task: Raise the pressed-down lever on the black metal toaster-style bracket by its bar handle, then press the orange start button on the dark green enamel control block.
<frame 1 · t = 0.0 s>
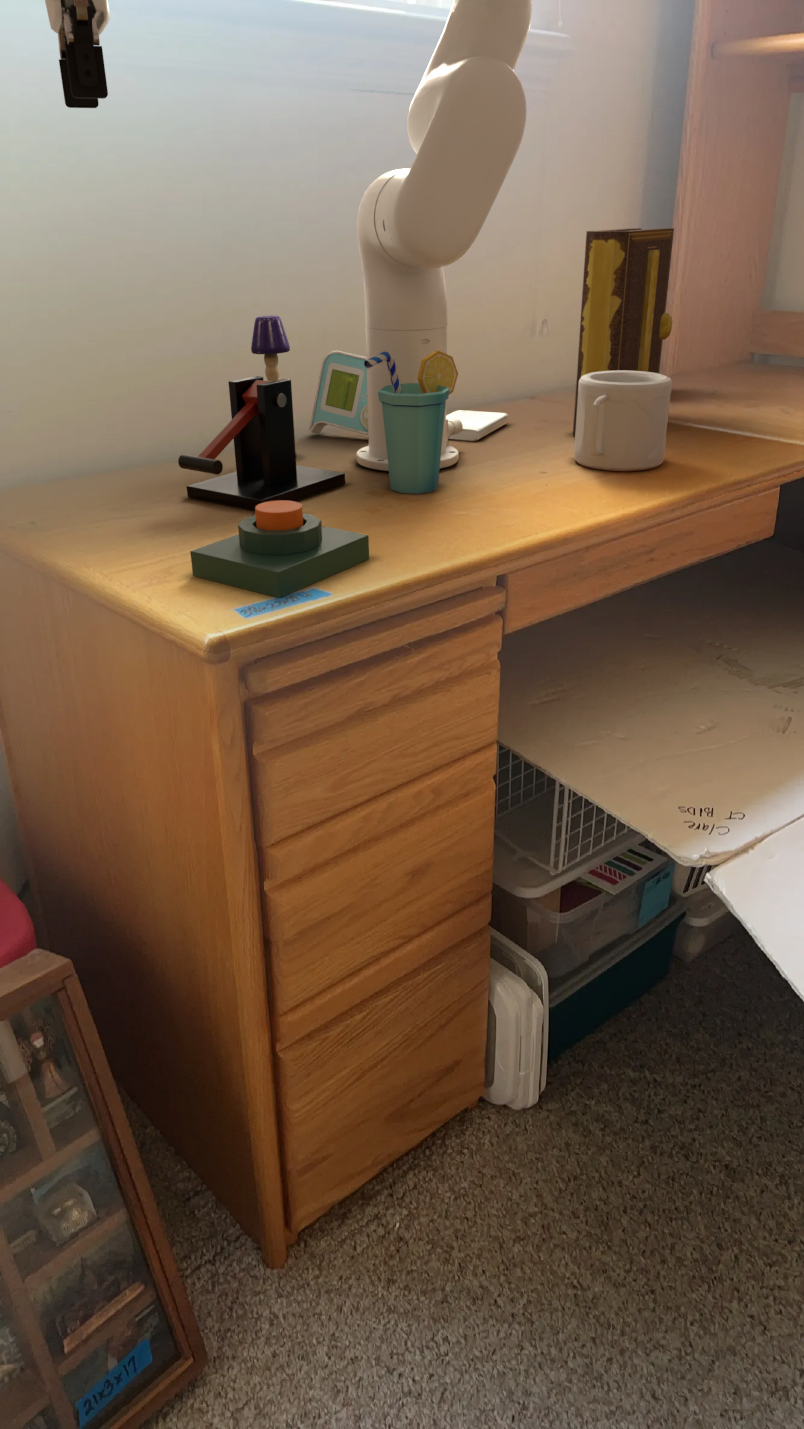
hand: (86, 102, 95), 37 cm above the table, tool pointing down, fingers open, 9 cm apart
bracket: (268, 490, 110), on the table
mug: (613, 465, 119), on the table
lever: (233, 428, 103), point 8 cm above the table, hinge at -28.0°
toy lamp: (278, 459, 124), on the table
control block: (282, 567, 86), on the table
book: (616, 425, 141), on the table
handheld gaming console: (362, 439, 133), on the table
start button: (279, 516, 84), point 5 cm above the table, slide at 0.2 cm
cup: (409, 491, 110), on the table
hard drive: (465, 431, 138), on the table
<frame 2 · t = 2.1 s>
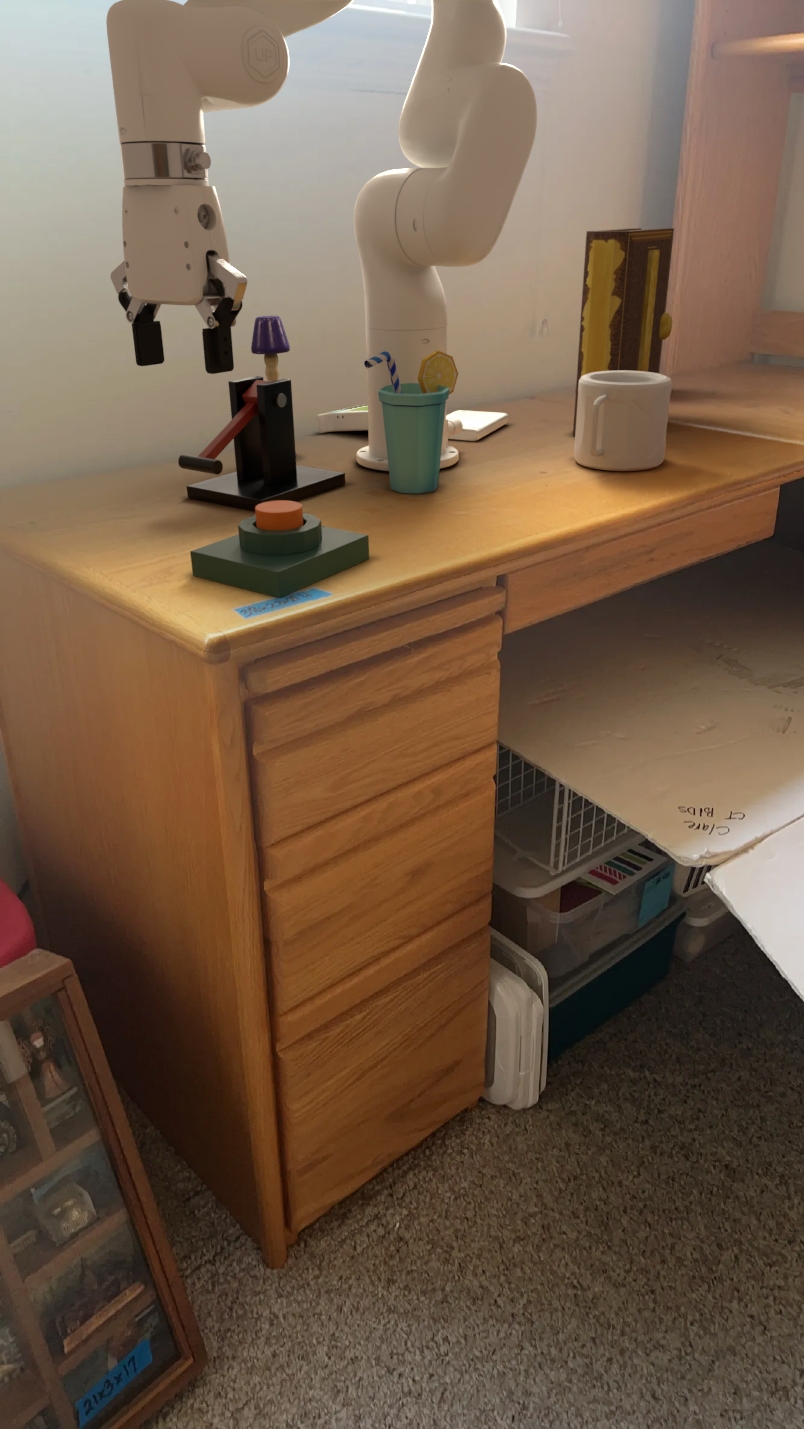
hand: (184, 368, 96), 14 cm above the table, tool pointing down, fingers open, 9 cm apart
handheld gaming console: (364, 420, 133), point 2 cm above the table, touching hard drive
hard drive: (465, 431, 138), on the table, touching handheld gaming console
everything else where it was.
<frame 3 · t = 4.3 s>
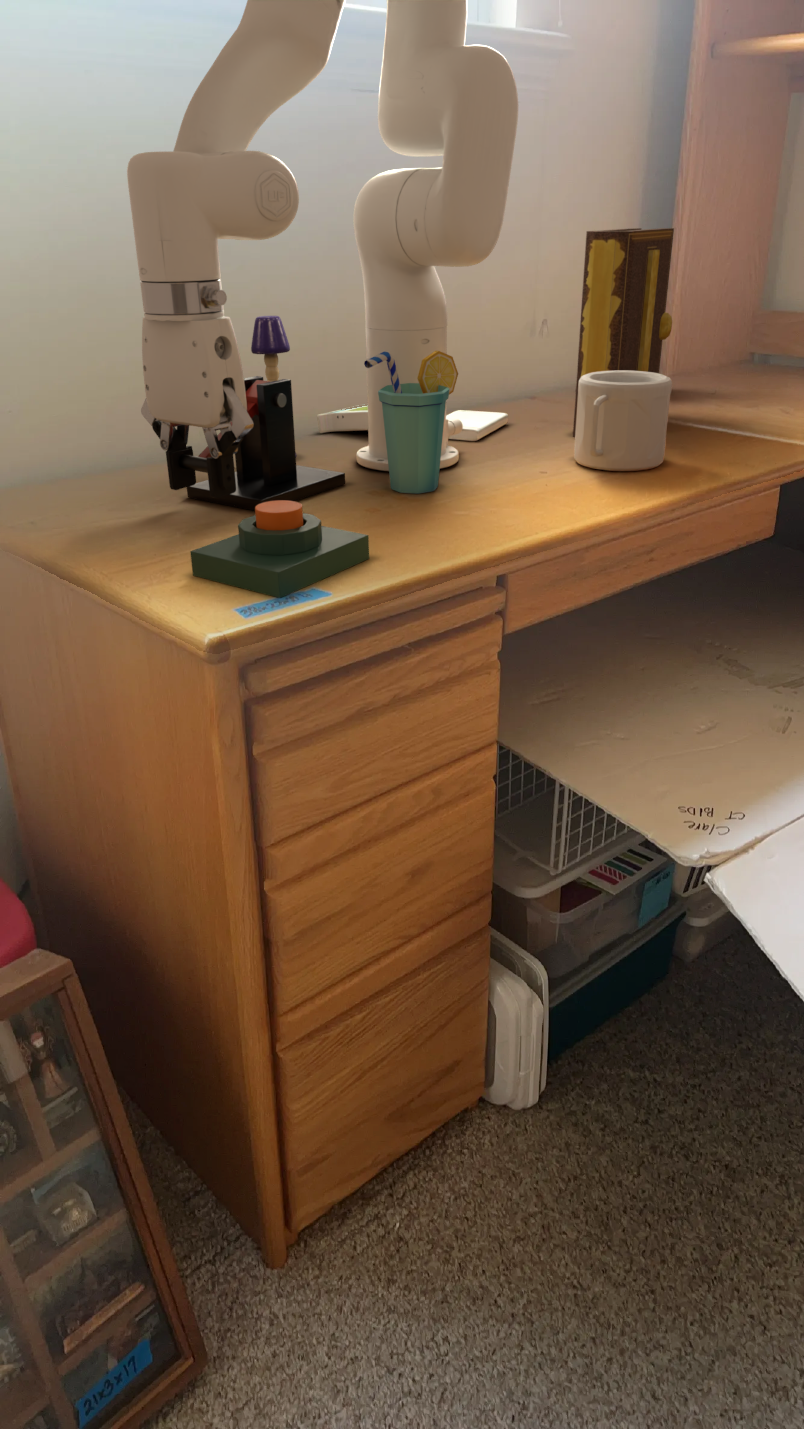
hand: (203, 489, 102), 2 cm above the table, tool pointing down, fingers closed on lever, 5 cm apart
lever: (233, 428, 103), point 8 cm above the table, hinge at -28.0°, touching gripper
everything else where it was.
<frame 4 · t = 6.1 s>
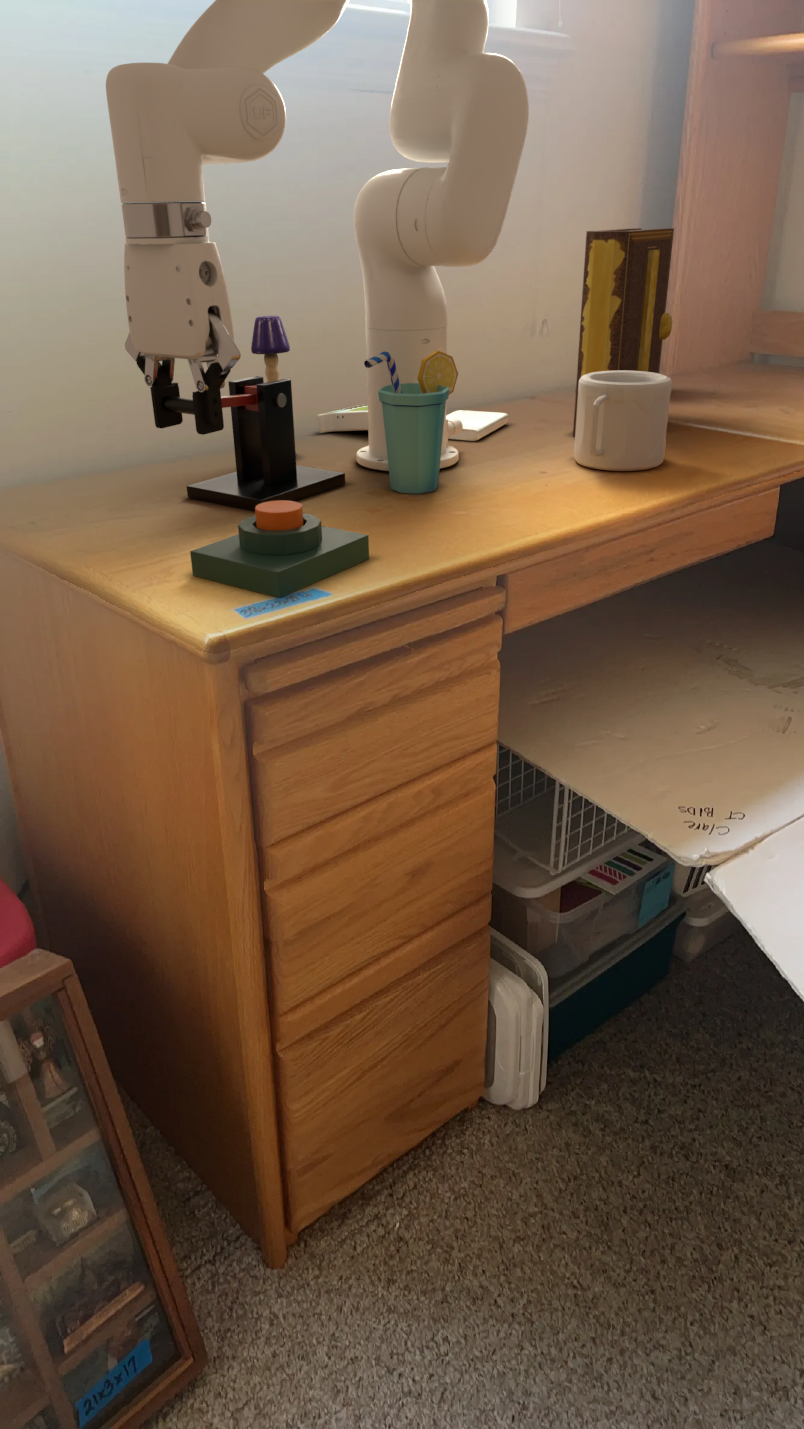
hand: (189, 426, 98), 9 cm above the table, tool pointing down, fingers closed on lever, 5 cm apart
lever: (226, 401, 101), point 10 cm above the table, hinge at 4.3°, touching gripper
everything else where it was.
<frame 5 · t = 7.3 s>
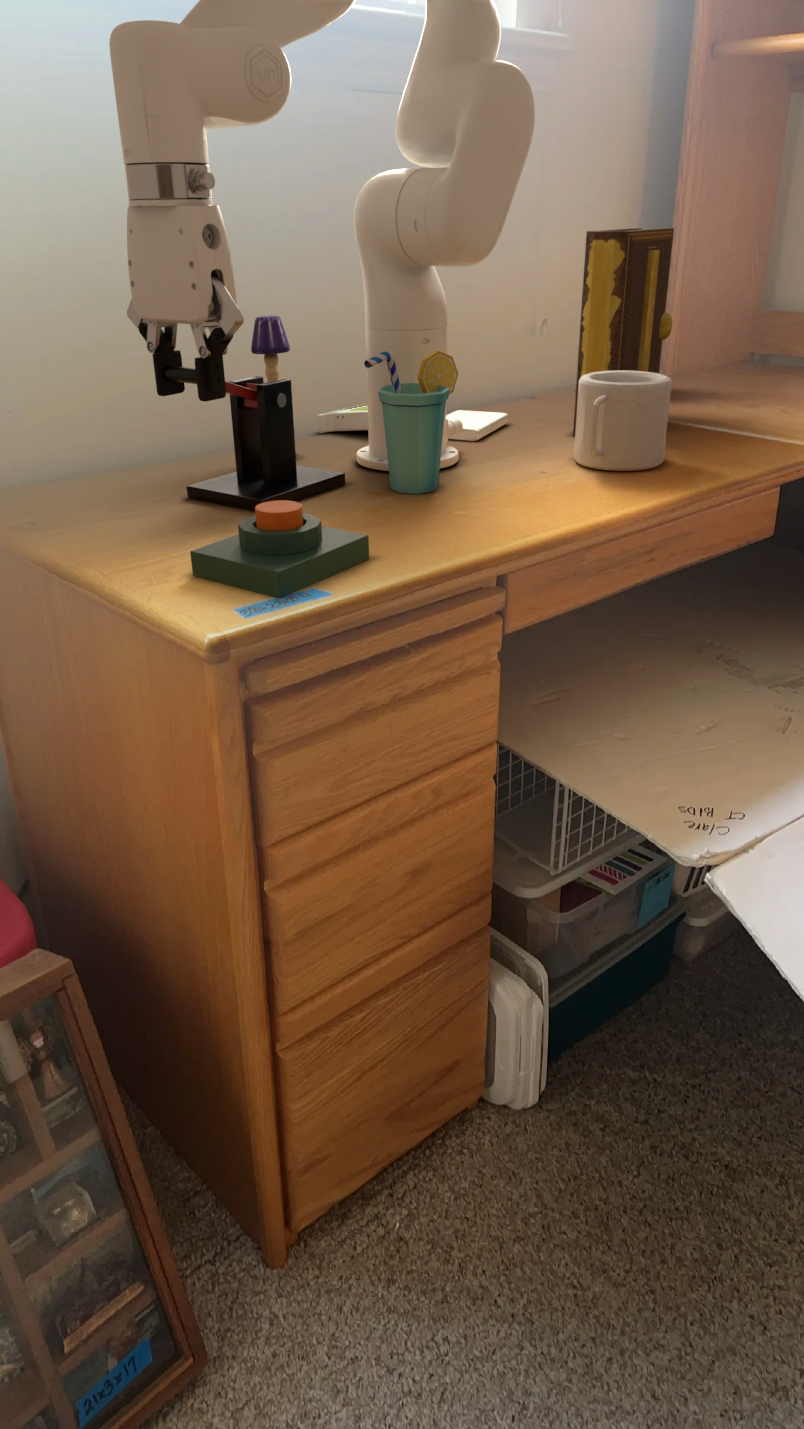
hand: (191, 394, 97), 12 cm above the table, tool pointing down, fingers closed on lever, 5 cm apart
lever: (227, 387, 101), point 12 cm above the table, hinge at 19.3°, touching gripper
everything else where it was.
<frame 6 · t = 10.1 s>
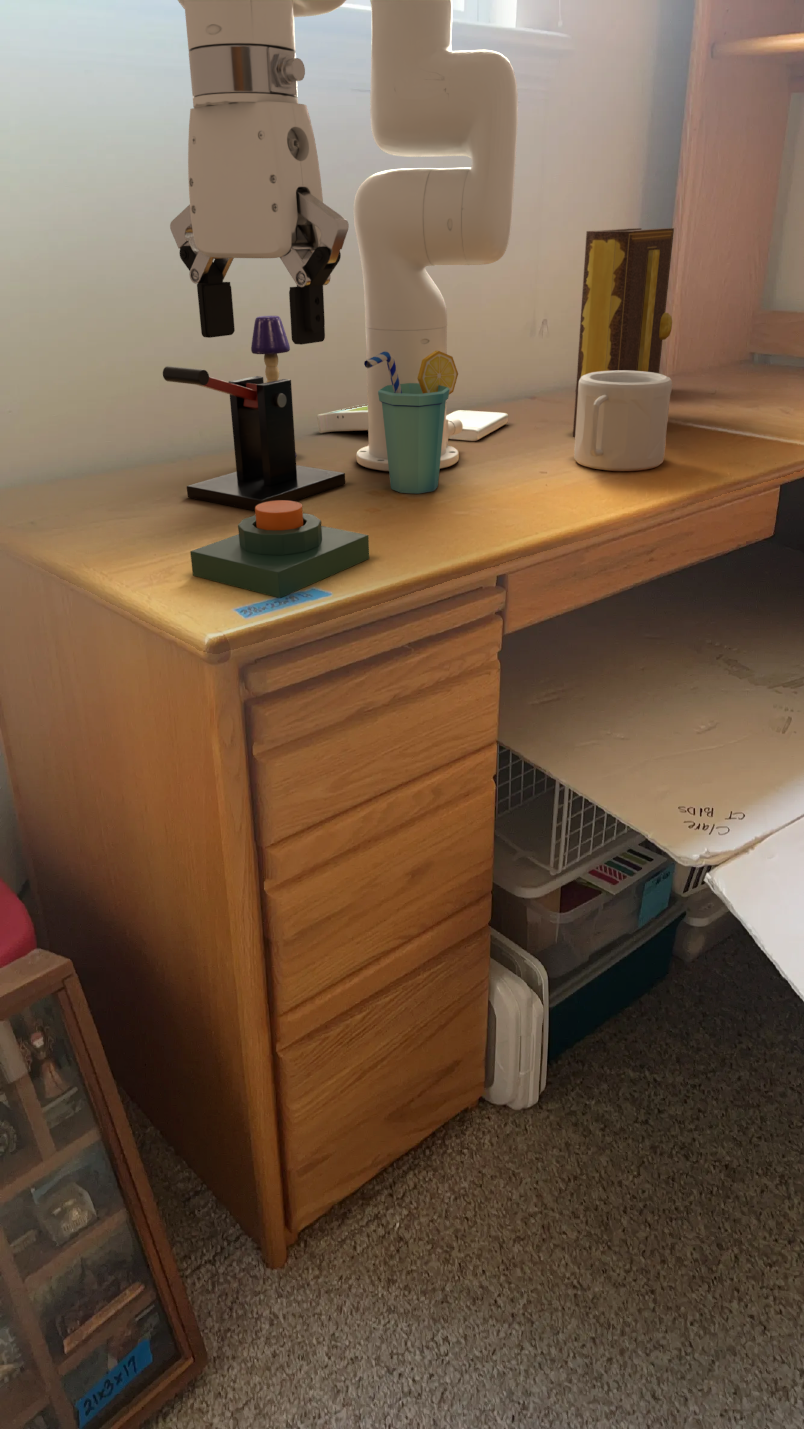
hand: (262, 339, 78), 19 cm above the table, tool pointing down, fingers open, 9 cm apart
lever: (227, 387, 101), point 12 cm above the table, hinge at 19.0°
everything else where it was.
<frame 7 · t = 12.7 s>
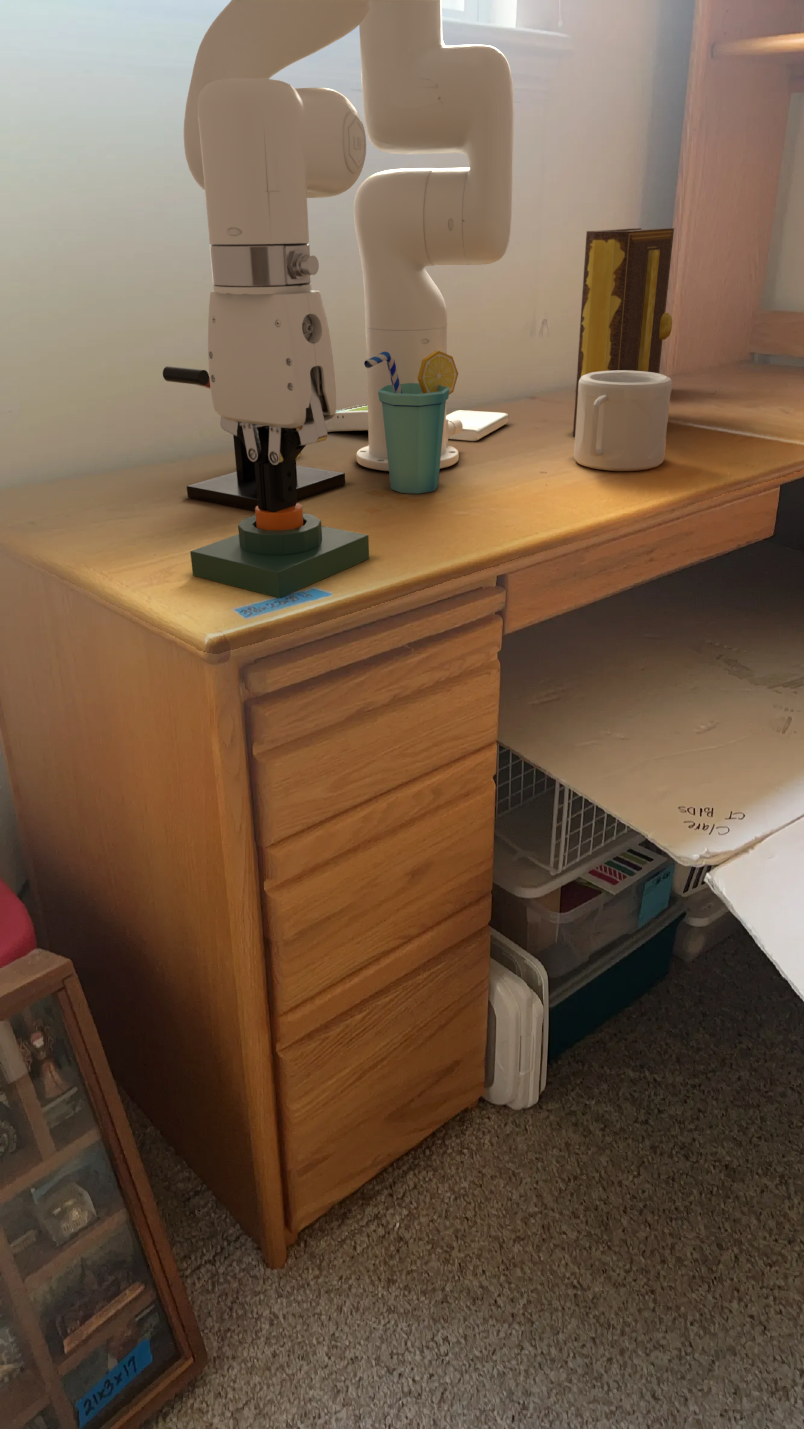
hand: (277, 507, 83), 5 cm above the table, tool pointing down, fingers closed
start button: (279, 517, 84), point 4 cm above the table, slide at 0.1 cm, touching gripper
everything else where it was.
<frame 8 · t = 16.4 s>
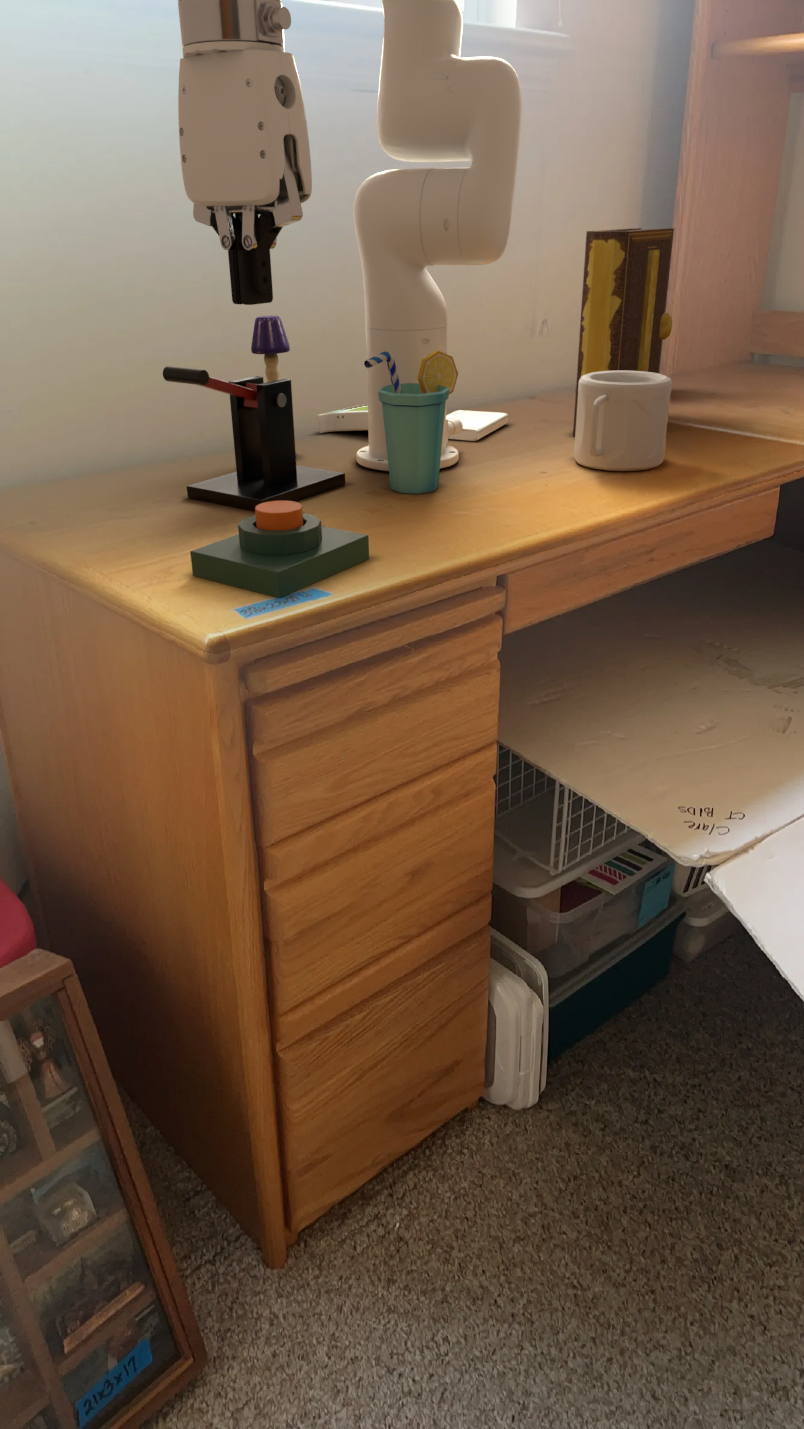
hand: (253, 302, 81), 21 cm above the table, tool pointing down, fingers closed
start button: (279, 516, 84), point 5 cm above the table, slide at 0.1 cm
everything else where it was.
at the end: lever at +19° (first picture: -28°); start button pushed in 1.1 cm at the most during the clip, back to where it started at the end; start button slide at 0.1 cm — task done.
